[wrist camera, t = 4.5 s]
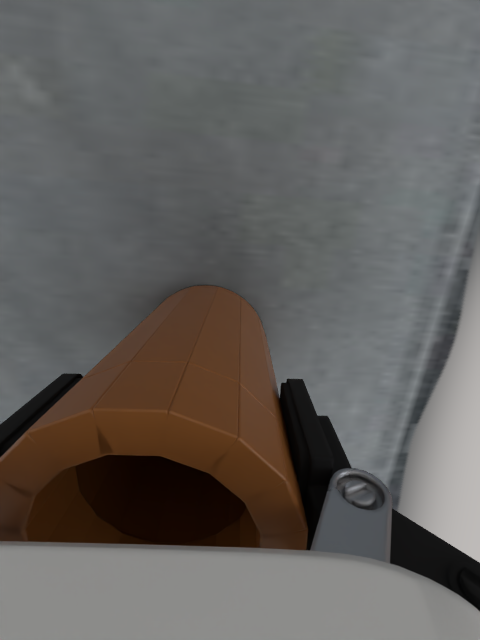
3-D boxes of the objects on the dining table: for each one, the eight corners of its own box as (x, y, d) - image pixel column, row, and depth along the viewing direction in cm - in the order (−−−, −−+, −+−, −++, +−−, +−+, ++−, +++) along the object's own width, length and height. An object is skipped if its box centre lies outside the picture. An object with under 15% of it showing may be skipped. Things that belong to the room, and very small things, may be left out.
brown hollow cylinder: (145, 283, 17) (-65, 404, 5) (267, 286, 17) (323, 414, 5) (152, 392, 19) (12, 651, 7) (262, 394, 19) (294, 657, 7)
